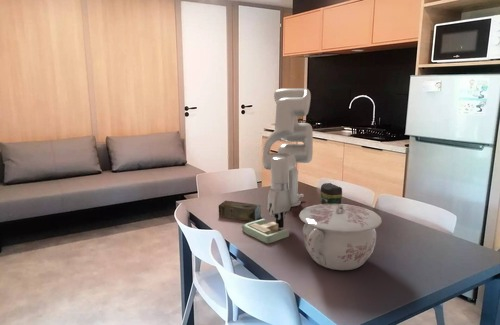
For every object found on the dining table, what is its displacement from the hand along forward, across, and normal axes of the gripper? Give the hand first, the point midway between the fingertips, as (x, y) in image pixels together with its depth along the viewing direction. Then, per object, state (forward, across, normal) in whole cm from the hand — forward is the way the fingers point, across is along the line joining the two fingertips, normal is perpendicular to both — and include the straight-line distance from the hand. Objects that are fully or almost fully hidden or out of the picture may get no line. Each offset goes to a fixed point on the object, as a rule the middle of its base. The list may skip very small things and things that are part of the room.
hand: (279, 226), depth 156 cm
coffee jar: (+1, -21, +10) cm, 23 cm away
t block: (+1, +8, 0) cm, 8 cm away
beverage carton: (+2, +4, -24) cm, 24 cm away
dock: (+1, +8, 0) cm, 8 cm away
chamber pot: (+1, +4, +34) cm, 35 cm away
